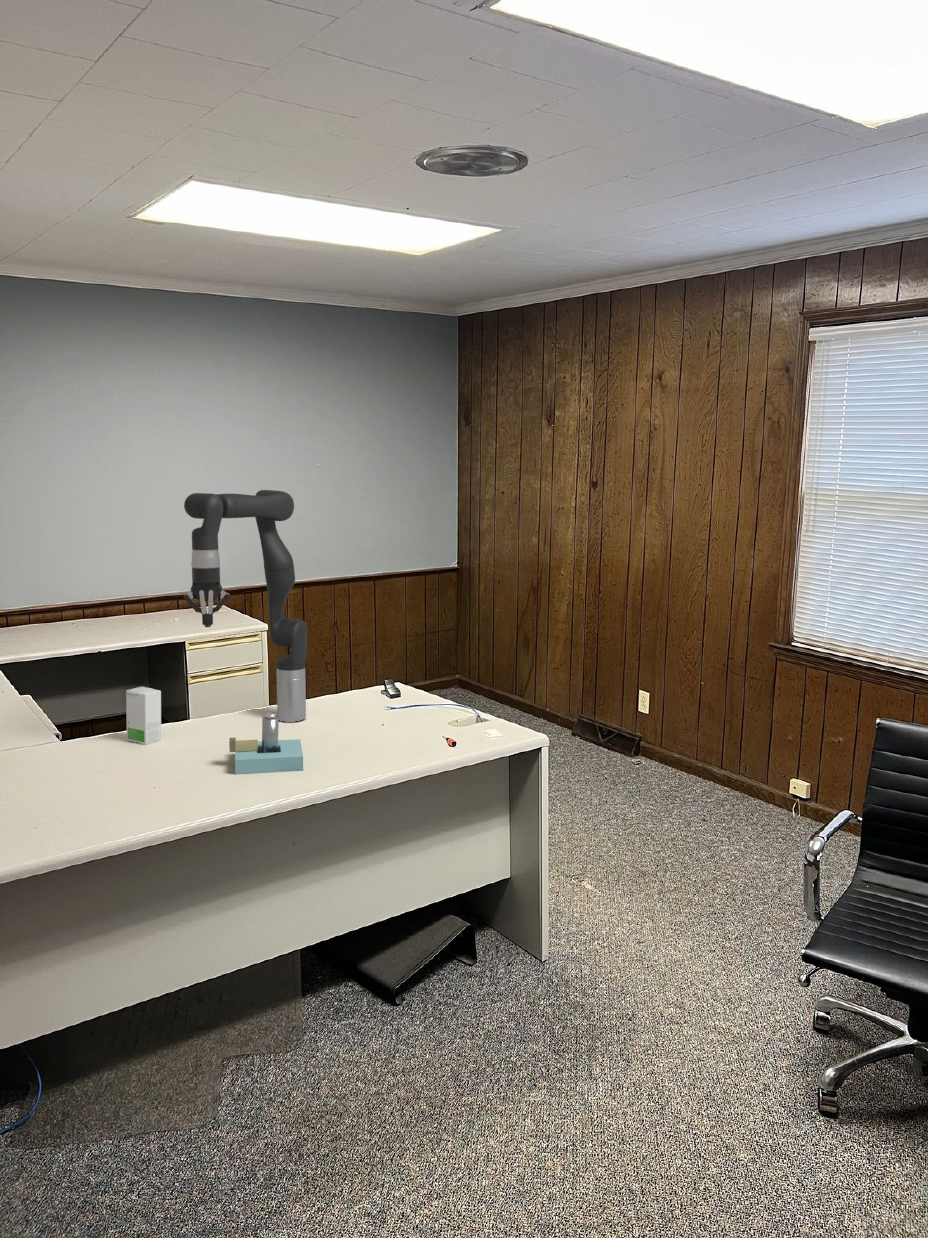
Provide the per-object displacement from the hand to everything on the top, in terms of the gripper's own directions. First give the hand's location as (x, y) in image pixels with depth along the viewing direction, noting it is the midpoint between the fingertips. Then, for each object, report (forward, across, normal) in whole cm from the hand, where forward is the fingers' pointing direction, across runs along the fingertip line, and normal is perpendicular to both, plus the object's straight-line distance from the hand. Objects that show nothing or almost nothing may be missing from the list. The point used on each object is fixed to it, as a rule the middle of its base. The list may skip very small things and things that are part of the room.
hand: (207, 626), depth 255 cm
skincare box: (+37, +20, -16) cm, 45 cm away
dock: (+37, -16, +12) cm, 42 cm away
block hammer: (+33, -10, +12) cm, 36 cm away
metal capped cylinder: (+36, -16, +12) cm, 41 cm away
